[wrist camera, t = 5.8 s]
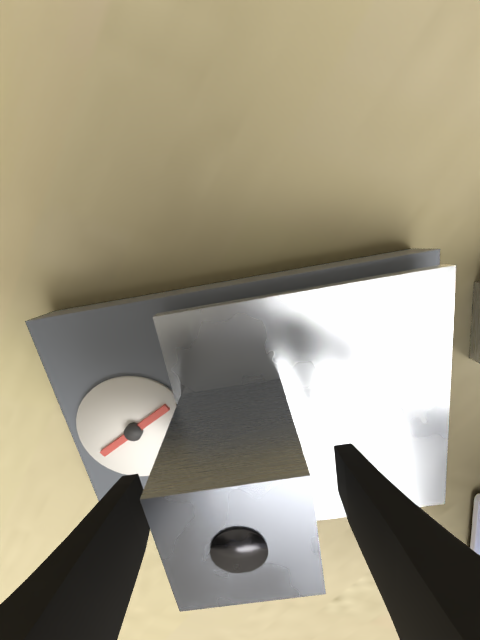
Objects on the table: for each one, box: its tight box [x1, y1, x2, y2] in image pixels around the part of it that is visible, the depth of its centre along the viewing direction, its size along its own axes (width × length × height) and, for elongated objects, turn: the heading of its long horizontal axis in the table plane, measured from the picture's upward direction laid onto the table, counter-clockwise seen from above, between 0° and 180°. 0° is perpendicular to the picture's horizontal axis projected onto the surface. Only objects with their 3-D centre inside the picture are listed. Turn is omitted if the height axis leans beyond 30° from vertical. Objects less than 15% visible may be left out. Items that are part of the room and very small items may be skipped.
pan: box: [153, 264, 456, 521], centre depth 13 cm, size 12×12×3 cm
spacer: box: [140, 379, 326, 611], centre depth 10 cm, size 4×4×5 cm
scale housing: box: [25, 249, 440, 501], centre depth 14 cm, size 13×19×2 cm
